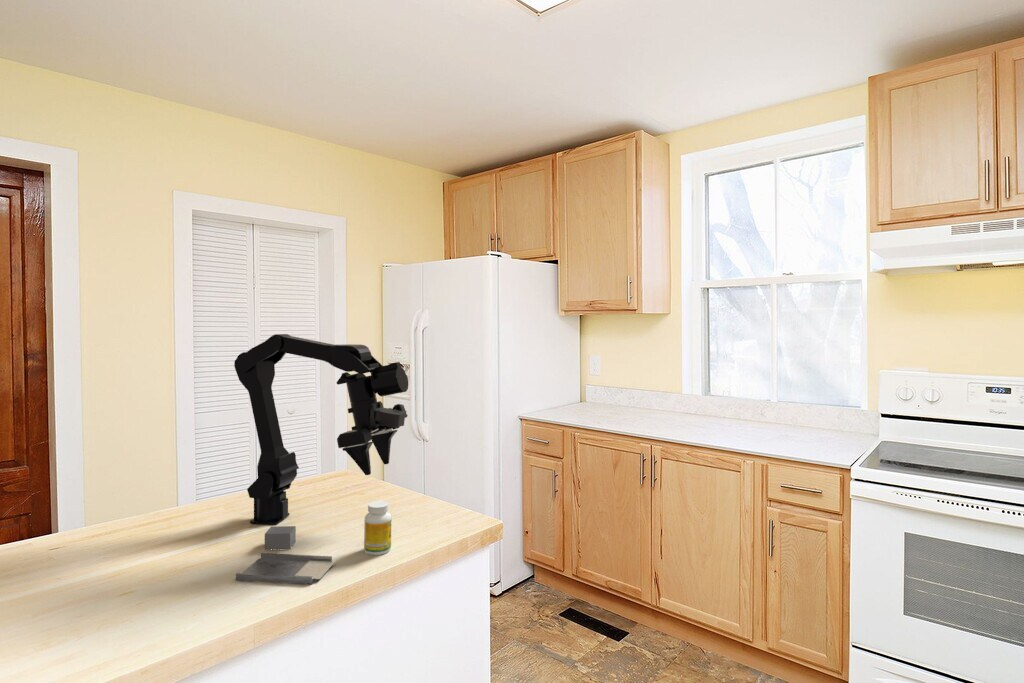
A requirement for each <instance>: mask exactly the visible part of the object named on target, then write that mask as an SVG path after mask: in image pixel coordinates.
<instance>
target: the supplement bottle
mask: <svg viewBox="0 0 1024 683" xmlns="http://www.w3.org/2000/svg"><path fill="white" fill-rule="evenodd" d="M367 511H368V513H367V514H365V516H364V520H363V521H364V525H363V526H364V533H363V534H364V536H363V538H364V540H363V541H364V542H363V549H364V553H365V554H368V555H371V556H381V555H385V554H387V553H389V552H390V550H391V548H392V515H391V513H390V512H388V511H389V502H387V501H383V500H375V501H372V502H369V503H368V504H367Z"/></svg>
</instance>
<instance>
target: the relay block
mask: <svg viewBox="0 0 1024 683" xmlns="http://www.w3.org/2000/svg"><path fill="white" fill-rule="evenodd" d="M296 534H297V526H296V525H287V526H286V525H285V526H283V525H282V526H281V525H280V526H270V527H269V529H268V530H266V532H265V533H264V551H274V550H273V549H276V550H275V551H281V550H280V549H290V550H291V549H292V548H293V546H294V545H295V543H296V541H297V540H296V539H297V536H296ZM293 544H294V545H293ZM291 547H292V548H291ZM271 549H272V550H271ZM278 549H279V550H278Z"/></svg>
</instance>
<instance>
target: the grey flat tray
mask: <svg viewBox="0 0 1024 683" xmlns="http://www.w3.org/2000/svg"><path fill="white" fill-rule="evenodd" d="M335 563H336V562H335V561H333V557H332V556H331V555H315V554H314V555H309V554H290V553H271V552H270V553H269V552H268V553H267V552H261V553H260V557H259V558H258V559H257V560H256V561H255V562H253V563H252V564H250V565H249V566H248V567H247V568H245V570H243V571H242V572H236V573H235V581H236V580H243V581H242V582H254V581H257V583H259V582H260V583H273V582H274V583H276V584H278V583H279V584H292V585H293V584H295V585H296V584H297V585H313V584H314V583H315V581H316V580H320V579H322V578H323V577H324V575H325V574H326V573H327V572H328V571H329V570H330V569H331V567H332V566H333V565H334V564H335ZM258 581H259V582H258Z"/></svg>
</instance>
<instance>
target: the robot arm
mask: <svg viewBox="0 0 1024 683" xmlns="http://www.w3.org/2000/svg"><path fill="white" fill-rule="evenodd" d="M286 354H289V355H294V356H300V357H304V358H309V359H314V360H319V361H323V362H325V363H328V364H329V365H331V366H332V367H334V368H336V369H339V370H341V371H344V372H342V373H341V376H340V377H339V379H338V380H337V381H336V384H337V385H343V384H346V389H347V394H348V398H349V403H350V407H349V408H347V412H348V414H352V418H353V422H354V425H353V426H351V430H347V431H345V432H341V433H340V434H339V435H338V436H337V439H336V442H337V447H338V449H342V451H343V452H346V453H347V455H349V457H350V458H351V459H352V460H353V461H354V462H355V464H356V465H357V466H358V468H360V469H359V470H360V471H361V472H363V473H364V475H365V476H370V475H371V474H372V473H371V472H372V471H371V470H372V468H371V458H370V450H371V447H372V444H373V446H374V449H375V450H376V452H377V454H378V456H379V458H380V460H381V462H382V463H383V465H388V464H390V455H391V443H392V439H393V437H394V435H396V433H398V429H399V428H400V427H404V426H405V421H406V420H405V419H406V418H408V413H407V410H406V408H405V405H404V404H400V403H396V404H394V406H393V407H389V408H388V407H387V408H386V407H384V404H383V402H382V401H381V400H379V401H378V399H377V395H378V396H380V397H387V396H393V395H397V394H402V393H406V392H408V389H409V378H408V375H407V373H406V371H405V369H404V367H402V364H401V362H400V361H397V362H393V363H392V362H391V363H389V364H386V365H383V364H381V363H380V361H379V360H377V358H375V357H374V356H373V355H372V352H371V350H370V349H369V347H368V346H366V345H365V344H357V343H356V344H353V343H352V344H350V343H349V344H348V343H347V344H335V343H334V344H333V343H327V342H324V341H323V342H322V341H318V340H314V339H308V338H304V337H297V336H293V335H290V334H288V333H283V334H282V333H279V334H278V333H276V334H272V335H271V336H270V337H268V338H267V339H266V340H264V341H263V342H261V343H259V344H257V345H255V346H254V347H251V348H250V349H249V350H248V351H244V352H241V353H239V354H238V356H237V357H236V359H235V360H234V365H233V366H234V370H235V373H236V376H237V378H238V380H239V382H240V383H241V384H242V385H243V387H244V388H245V389H246V390H247V393H248V395H249V401H250V406H251V410H252V414H253V415H252V416H253V420H254V424H255V429H256V433H257V434H256V435H257V439H258V443H259V448H260V454H259V455H260V456H259V459H258V462H257V466H256V470H257V478H256V479H255V481H253V483H251V484H250V485H249V486H248V487H247V489H246V491H247V494H248V497H249V498H250V499H253V518H252V519H250V520H249V523H250V524H259V525H261V524H262V525H263V524H264V525H278V524H280V523H281V522H282V521H284V520H285V519H286V518H287V517H289V516H290V512H289V499H288V497H287V491H286V490H288V489H289V490H290V488H291V485H292V483H293V482H294V481H295V479H296V477H298V476H297V475H298V469H300V467H299V465H298V464H297V463H298V462H297V457H296V456H297V455H296V453H295V452H294V451H291V452H289V451H288V450H287V449H286V448H285V446H284V441H283V436H282V432H281V427H280V423H279V417H278V413H277V407H276V403H275V398H274V394H273V388H272V386H273V382H274V378H275V376H276V370H275V365H276V364H277V363H279V362H280V361H281V360H282V359H283V358H284V357H285V355H286ZM350 372H354V373H353V374H350ZM367 373H370V375H367V376H366V374H367Z"/></svg>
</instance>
